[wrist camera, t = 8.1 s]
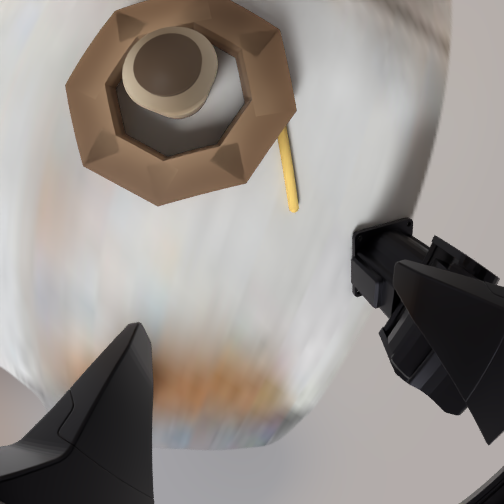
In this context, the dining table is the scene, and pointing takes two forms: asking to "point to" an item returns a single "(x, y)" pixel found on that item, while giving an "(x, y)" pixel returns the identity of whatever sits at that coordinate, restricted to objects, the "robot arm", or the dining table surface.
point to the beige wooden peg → (170, 71)
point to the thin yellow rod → (288, 170)
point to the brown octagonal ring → (198, 160)
